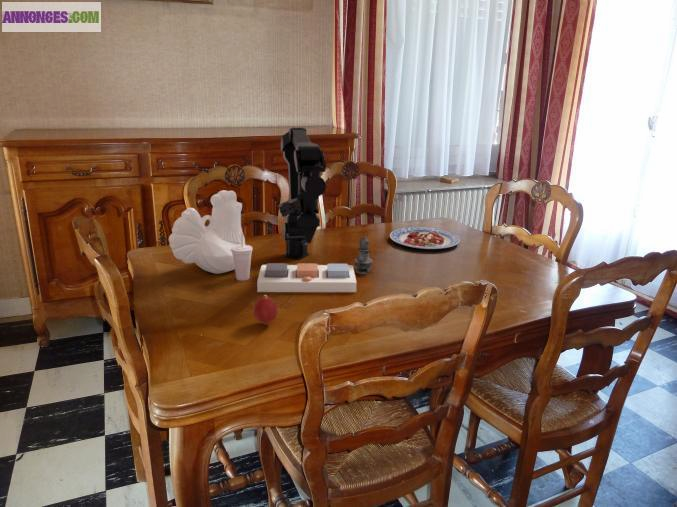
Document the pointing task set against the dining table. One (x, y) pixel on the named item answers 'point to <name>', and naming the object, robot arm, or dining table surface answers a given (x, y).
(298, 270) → the terracotta key
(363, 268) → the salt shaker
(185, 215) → the decorative rooster
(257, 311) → the onion
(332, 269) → the blue key
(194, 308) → the dining table surface
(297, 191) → the robot arm
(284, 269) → the charcoal key
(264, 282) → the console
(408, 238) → the ceramic plate
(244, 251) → the smoothie
